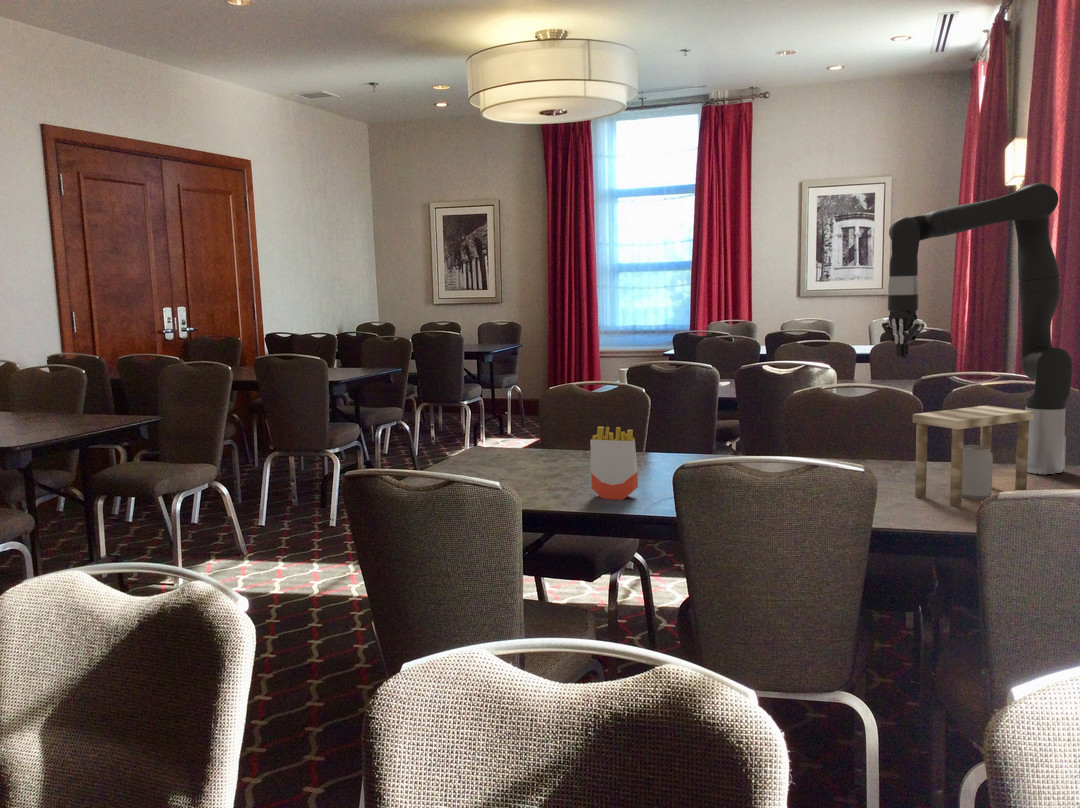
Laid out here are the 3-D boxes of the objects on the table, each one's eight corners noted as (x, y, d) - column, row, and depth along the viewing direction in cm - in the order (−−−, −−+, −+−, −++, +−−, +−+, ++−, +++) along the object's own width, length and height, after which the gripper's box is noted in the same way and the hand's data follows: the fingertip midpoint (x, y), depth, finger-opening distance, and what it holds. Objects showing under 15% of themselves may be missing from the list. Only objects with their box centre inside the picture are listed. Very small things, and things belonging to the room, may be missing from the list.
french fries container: (597, 493, 225) (595, 424, 223) (638, 496, 221) (637, 425, 219) (591, 497, 221) (589, 427, 219) (633, 500, 217) (632, 428, 214)
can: (997, 499, 207) (999, 448, 205) (965, 499, 207) (966, 449, 205) (982, 491, 214) (984, 443, 213) (951, 492, 214) (952, 444, 213)
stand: (983, 483, 222) (985, 405, 220) (1030, 493, 211) (1034, 411, 208) (910, 496, 212) (912, 414, 210) (956, 507, 200) (959, 420, 198)
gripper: (933, 292, 232) (932, 358, 234) (894, 293, 244) (893, 355, 246) (912, 293, 229) (911, 360, 231) (873, 294, 240) (873, 357, 243)
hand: (902, 357), depth 238 cm, fingers closed
